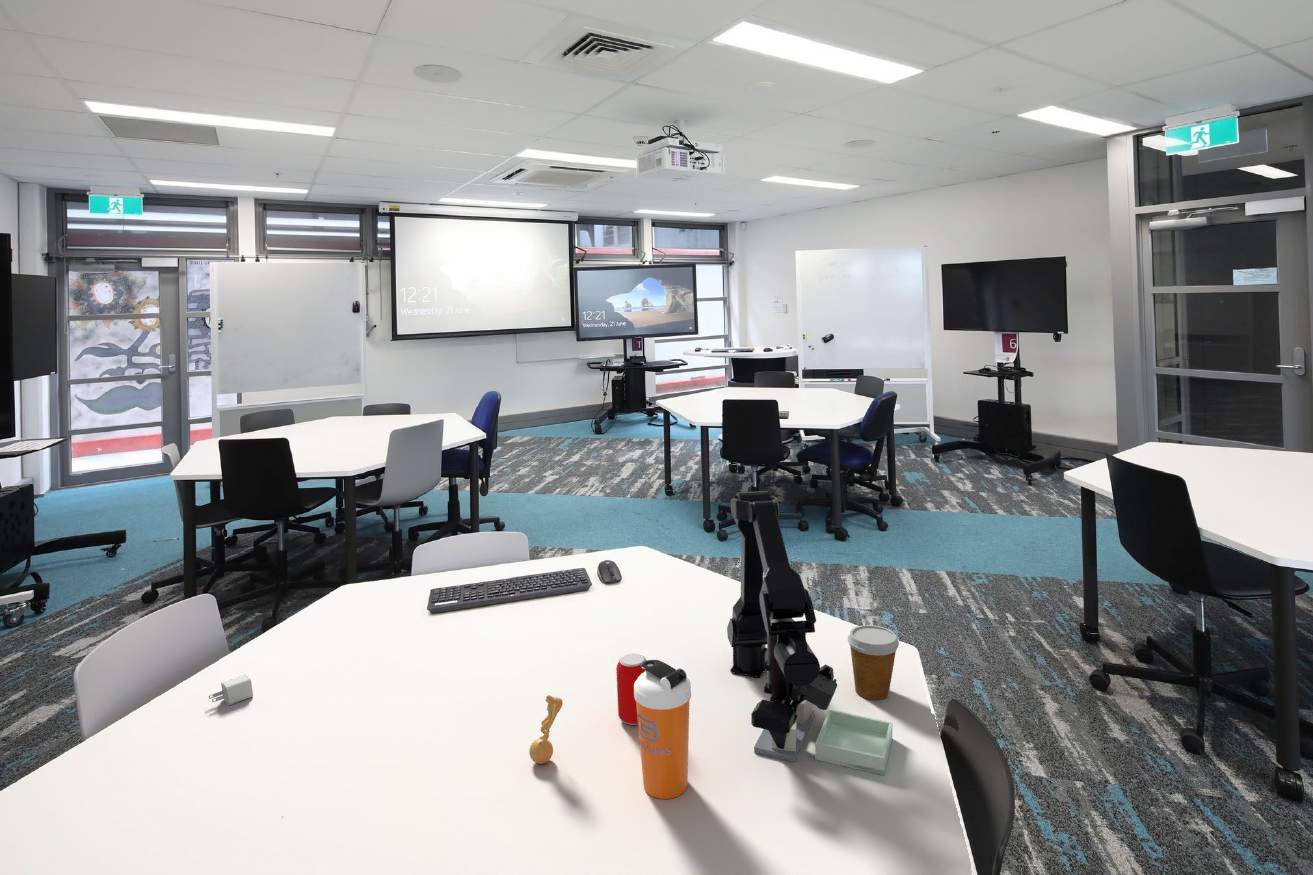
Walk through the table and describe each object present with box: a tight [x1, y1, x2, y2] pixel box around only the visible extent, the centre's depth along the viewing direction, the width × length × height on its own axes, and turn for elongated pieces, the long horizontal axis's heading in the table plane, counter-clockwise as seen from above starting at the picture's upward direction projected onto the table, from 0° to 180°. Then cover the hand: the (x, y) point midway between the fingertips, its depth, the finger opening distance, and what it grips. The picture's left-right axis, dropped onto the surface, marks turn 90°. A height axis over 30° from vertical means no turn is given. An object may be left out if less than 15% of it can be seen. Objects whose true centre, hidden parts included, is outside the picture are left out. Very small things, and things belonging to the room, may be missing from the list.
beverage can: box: [615, 653, 647, 726], centre depth 130 cm, size 6×6×12 cm
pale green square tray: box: [814, 709, 894, 776], centre depth 120 cm, size 11×11×3 cm
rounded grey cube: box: [772, 719, 797, 752], centre depth 120 cm, size 4×4×4 cm
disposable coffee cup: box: [847, 624, 900, 701], centre depth 137 cm, size 10×10×12 cm
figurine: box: [528, 694, 564, 765], centre depth 118 cm, size 8×6×12 cm
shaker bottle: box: [634, 659, 692, 800], centre depth 111 cm, size 9×9×20 cm
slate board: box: [753, 709, 815, 763], centre depth 125 cm, size 7×15×1 cm, turn 155°
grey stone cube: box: [796, 700, 813, 725], centre depth 128 cm, size 4×4×4 cm
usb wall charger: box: [208, 674, 254, 706], centre depth 142 cm, size 4×7×4 cm, turn 137°
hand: (784, 740), depth 121 cm, fingers closed on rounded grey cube, 4 cm apart
